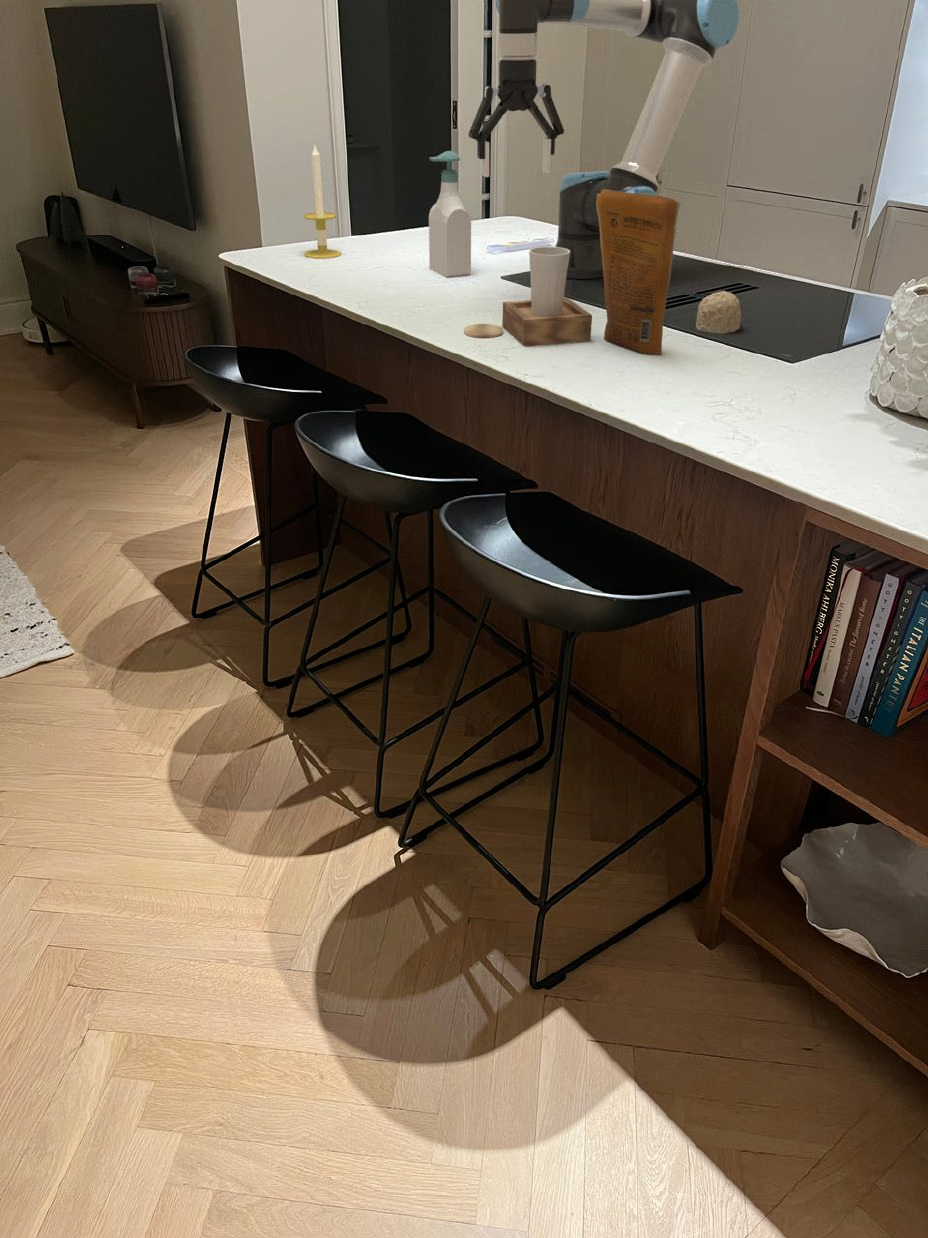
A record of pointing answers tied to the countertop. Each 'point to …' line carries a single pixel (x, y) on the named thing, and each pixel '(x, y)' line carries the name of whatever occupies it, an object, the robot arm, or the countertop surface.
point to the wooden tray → (546, 324)
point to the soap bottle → (449, 225)
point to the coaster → (483, 330)
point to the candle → (319, 214)
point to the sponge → (719, 313)
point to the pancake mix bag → (636, 265)
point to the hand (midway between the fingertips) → (515, 174)
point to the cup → (548, 280)
